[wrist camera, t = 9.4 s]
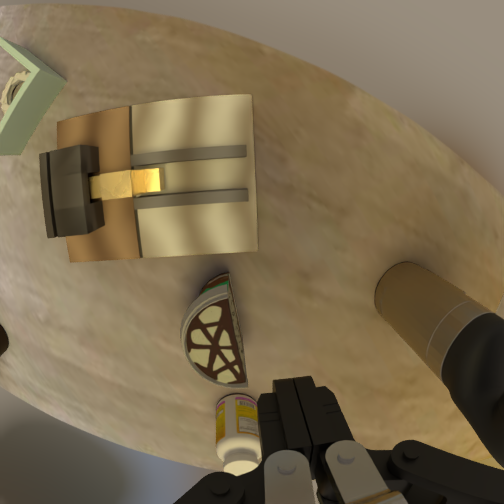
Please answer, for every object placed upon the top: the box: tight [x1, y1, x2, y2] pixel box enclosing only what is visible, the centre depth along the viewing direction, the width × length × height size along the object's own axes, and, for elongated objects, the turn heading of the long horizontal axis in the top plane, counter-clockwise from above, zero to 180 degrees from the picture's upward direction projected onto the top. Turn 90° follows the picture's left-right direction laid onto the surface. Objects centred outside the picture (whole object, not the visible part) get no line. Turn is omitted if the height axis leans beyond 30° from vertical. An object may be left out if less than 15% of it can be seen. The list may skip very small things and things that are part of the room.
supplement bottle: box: [216, 394, 262, 476], centre depth 38 cm, size 7×7×13 cm
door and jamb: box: [39, 94, 258, 262], centre depth 31 cm, size 24×18×7 cm
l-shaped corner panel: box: [0, 37, 67, 155], centre depth 26 cm, size 12×12×8 cm
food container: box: [180, 272, 248, 389], centre depth 34 cm, size 12×6×10 cm, turn 9°
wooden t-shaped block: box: [88, 168, 165, 200], centre depth 28 cm, size 12×2×7 cm, turn 92°
